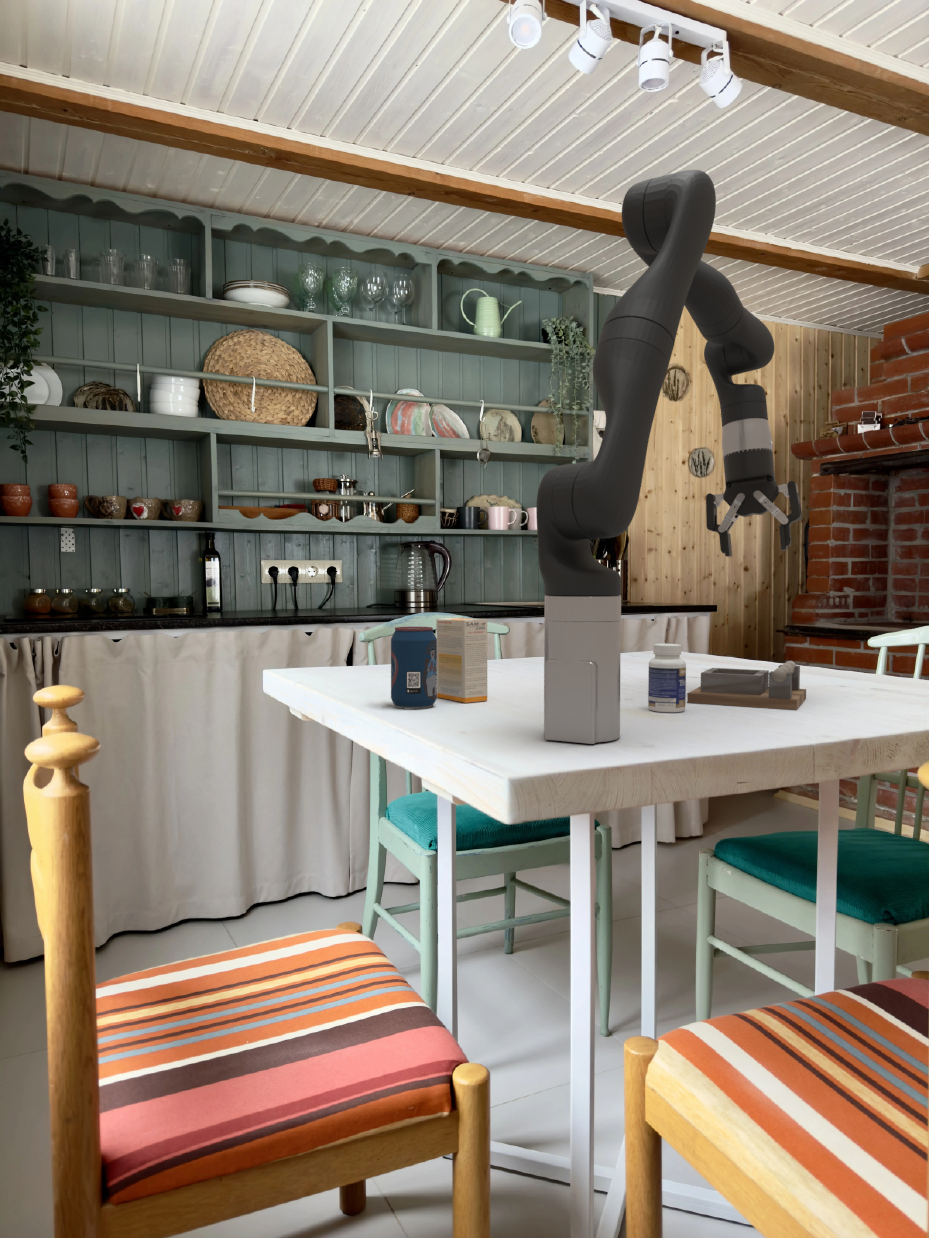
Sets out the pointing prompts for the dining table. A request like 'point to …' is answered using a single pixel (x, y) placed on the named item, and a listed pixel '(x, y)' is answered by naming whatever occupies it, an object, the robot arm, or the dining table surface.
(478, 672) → the supplement box
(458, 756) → the dining table surface
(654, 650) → the pill bottle
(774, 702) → the block
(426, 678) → the soda can
